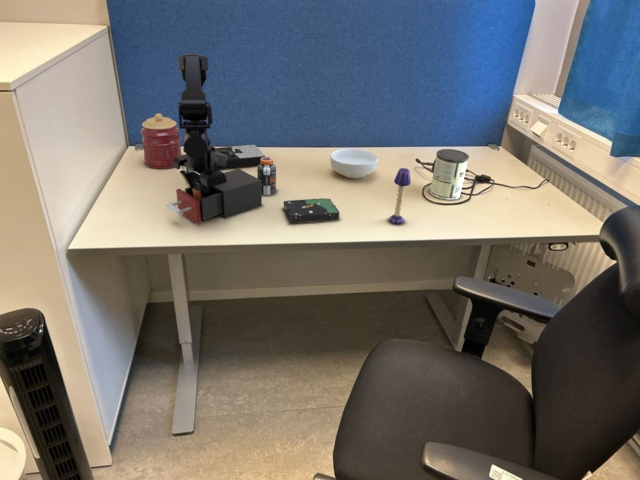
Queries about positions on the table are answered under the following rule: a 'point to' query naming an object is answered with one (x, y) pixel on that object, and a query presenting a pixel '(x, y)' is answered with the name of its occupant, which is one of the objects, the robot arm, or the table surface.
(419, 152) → the table surface
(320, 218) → the disk drive
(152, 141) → the kitchen canister
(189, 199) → the pod drawer
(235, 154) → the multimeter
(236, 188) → the drawer cabinet
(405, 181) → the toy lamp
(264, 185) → the pill bottle
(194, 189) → the brown short cylinder
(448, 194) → the coffee can
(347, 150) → the cereal bowl
